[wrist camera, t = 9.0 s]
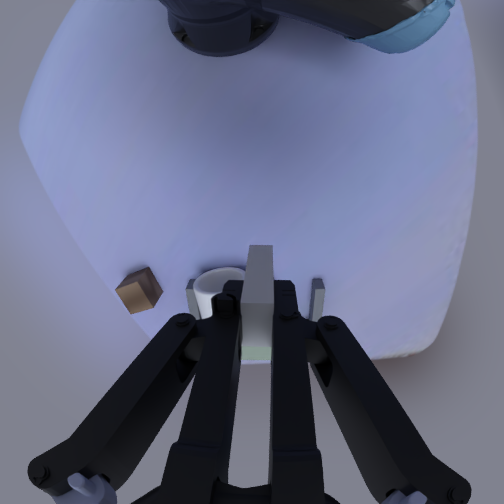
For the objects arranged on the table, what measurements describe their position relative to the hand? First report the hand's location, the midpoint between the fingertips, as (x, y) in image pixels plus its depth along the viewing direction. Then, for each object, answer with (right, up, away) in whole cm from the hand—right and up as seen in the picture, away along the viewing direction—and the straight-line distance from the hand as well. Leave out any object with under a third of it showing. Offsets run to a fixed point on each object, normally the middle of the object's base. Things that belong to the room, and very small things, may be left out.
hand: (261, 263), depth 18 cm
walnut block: (-19, -5, +26) cm, 32 cm away
